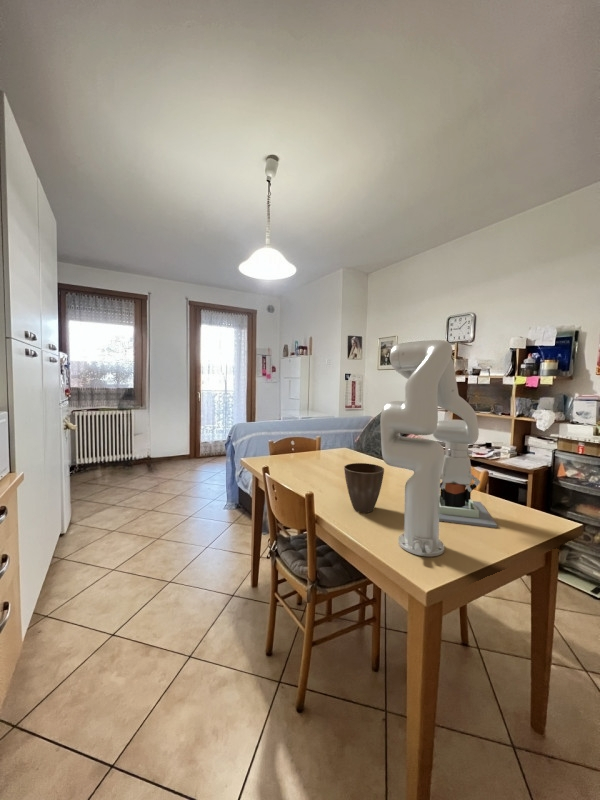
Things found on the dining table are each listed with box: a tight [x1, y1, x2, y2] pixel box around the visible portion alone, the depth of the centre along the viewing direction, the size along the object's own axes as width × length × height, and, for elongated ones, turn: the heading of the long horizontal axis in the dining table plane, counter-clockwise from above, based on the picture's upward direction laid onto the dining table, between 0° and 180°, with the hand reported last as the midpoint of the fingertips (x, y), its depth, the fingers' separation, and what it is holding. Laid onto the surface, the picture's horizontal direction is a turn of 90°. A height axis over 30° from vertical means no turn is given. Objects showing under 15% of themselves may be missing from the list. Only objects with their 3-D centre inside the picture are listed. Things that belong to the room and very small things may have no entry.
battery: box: [445, 481, 466, 508], centre depth 118 cm, size 4×7×10 cm, turn 121°
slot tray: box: [439, 496, 498, 529], centre depth 118 cm, size 22×22×4 cm
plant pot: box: [343, 462, 385, 514], centre depth 120 cm, size 15×15×16 cm
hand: (455, 499), depth 118 cm, fingers closed on battery, 7 cm apart
